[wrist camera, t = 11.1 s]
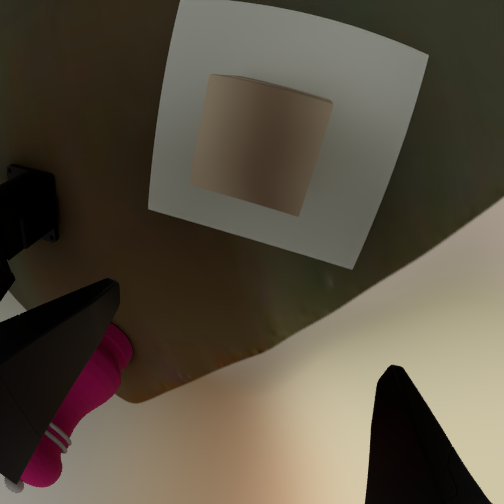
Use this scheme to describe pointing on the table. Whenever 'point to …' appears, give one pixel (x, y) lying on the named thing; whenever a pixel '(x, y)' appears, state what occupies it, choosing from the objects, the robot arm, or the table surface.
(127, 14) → the table surface
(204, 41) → the sage plate
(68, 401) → the pepper mill
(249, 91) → the birch cube
